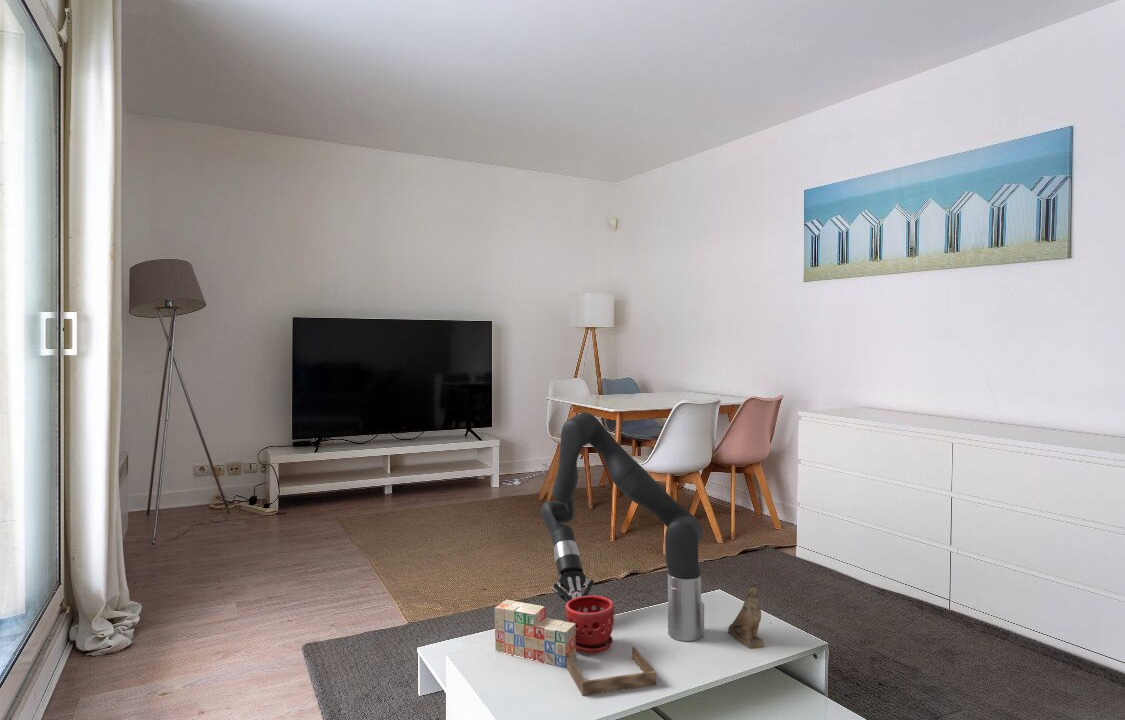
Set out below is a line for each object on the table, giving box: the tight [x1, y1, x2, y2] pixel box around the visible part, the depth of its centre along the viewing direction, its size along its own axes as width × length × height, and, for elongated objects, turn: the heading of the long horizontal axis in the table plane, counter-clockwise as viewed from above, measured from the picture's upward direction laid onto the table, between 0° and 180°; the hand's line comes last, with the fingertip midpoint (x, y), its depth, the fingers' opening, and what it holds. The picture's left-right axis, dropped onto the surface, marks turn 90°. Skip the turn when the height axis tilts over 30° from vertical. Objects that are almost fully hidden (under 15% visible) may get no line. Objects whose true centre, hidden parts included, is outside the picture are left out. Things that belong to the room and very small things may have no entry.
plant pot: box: [565, 595, 615, 655], centre depth 179 cm, size 13×13×12 cm
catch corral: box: [565, 646, 657, 697], centre depth 163 cm, size 19×14×3 cm
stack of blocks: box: [494, 599, 577, 669], centre depth 175 cm, size 21×6×12 cm, turn 63°
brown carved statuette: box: [727, 585, 765, 650], centre depth 182 cm, size 12×6×18 cm, turn 14°
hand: (579, 614), depth 189 cm, fingers closed
